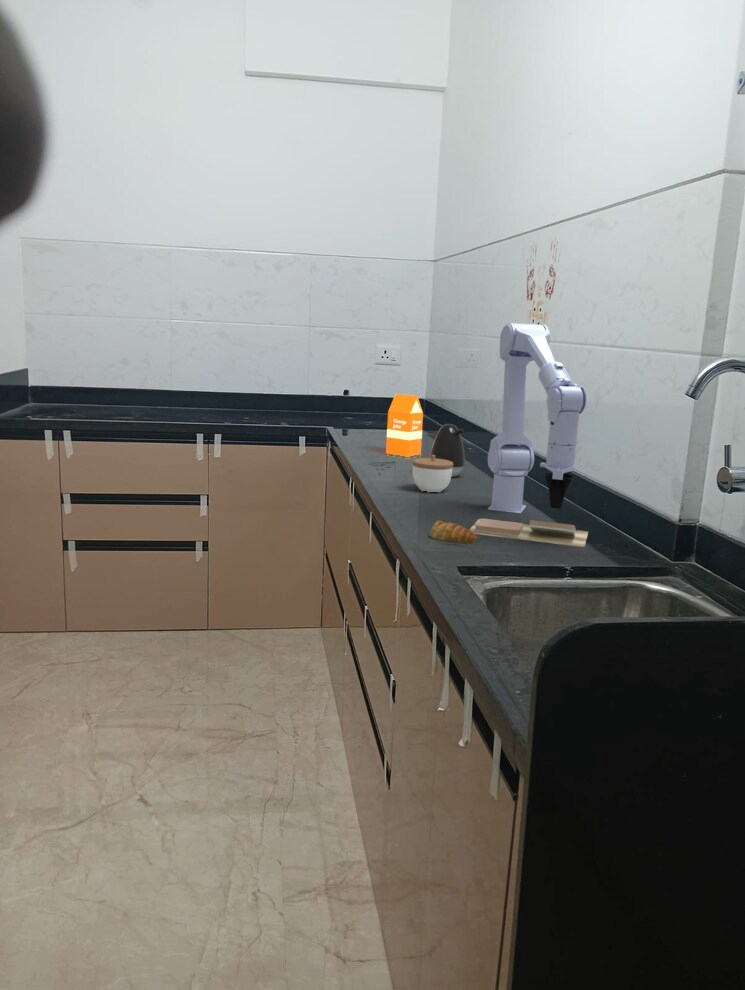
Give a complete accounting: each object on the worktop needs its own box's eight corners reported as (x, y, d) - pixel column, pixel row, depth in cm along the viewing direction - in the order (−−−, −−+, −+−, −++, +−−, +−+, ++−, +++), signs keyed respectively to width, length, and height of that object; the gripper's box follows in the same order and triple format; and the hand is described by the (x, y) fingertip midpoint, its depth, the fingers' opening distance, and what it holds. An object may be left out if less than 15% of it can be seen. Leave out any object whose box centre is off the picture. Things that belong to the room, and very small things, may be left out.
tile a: (481, 518, 181) (475, 525, 174) (523, 523, 178) (518, 530, 172) (481, 524, 181) (475, 531, 175) (522, 529, 179) (518, 536, 172)
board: (478, 521, 187) (478, 518, 187) (588, 534, 180) (588, 531, 180) (466, 535, 174) (466, 532, 174) (584, 550, 167) (584, 547, 167)
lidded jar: (448, 496, 213) (451, 460, 211) (407, 492, 215) (409, 456, 213) (453, 488, 223) (456, 454, 221) (414, 484, 225) (416, 450, 223)
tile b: (532, 524, 178) (530, 519, 172) (575, 529, 176) (574, 525, 169) (532, 530, 178) (529, 526, 172) (574, 535, 176) (573, 531, 169)
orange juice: (398, 452, 280) (402, 393, 276) (420, 456, 275) (424, 395, 271) (385, 455, 273) (388, 394, 269) (407, 458, 268) (411, 396, 264)
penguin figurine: (447, 480, 234) (450, 426, 231) (421, 474, 241) (424, 422, 238) (471, 477, 240) (475, 425, 237) (445, 471, 248) (449, 420, 245)
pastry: (482, 543, 169) (483, 524, 168) (468, 550, 164) (469, 531, 163) (441, 535, 174) (442, 517, 173) (426, 541, 168) (427, 523, 168)
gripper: (544, 438, 180) (539, 499, 183) (540, 446, 167) (533, 512, 169) (578, 440, 179) (571, 502, 181) (576, 449, 165) (569, 516, 168)
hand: (555, 507), depth 175 cm, fingers closed
